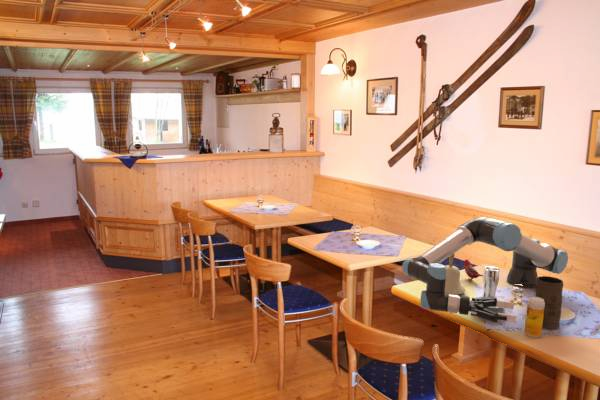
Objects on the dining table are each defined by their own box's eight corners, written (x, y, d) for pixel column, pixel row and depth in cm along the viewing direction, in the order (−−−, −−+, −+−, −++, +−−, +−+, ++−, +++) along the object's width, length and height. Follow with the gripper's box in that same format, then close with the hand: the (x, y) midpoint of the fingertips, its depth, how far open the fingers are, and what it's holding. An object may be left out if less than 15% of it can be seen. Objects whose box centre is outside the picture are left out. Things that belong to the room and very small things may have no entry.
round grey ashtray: (487, 305, 225) (488, 295, 224) (509, 316, 214) (510, 305, 213) (467, 309, 220) (468, 299, 219) (488, 320, 209) (489, 309, 208)
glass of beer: (521, 331, 199) (525, 296, 196) (535, 331, 200) (539, 296, 197) (529, 338, 193) (533, 302, 190) (544, 338, 194) (548, 301, 191)
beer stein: (566, 329, 201) (570, 282, 199) (542, 331, 199) (546, 282, 197) (542, 316, 216) (545, 272, 214) (520, 317, 215) (522, 272, 212)
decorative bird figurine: (464, 275, 265) (466, 257, 263) (485, 287, 248) (487, 268, 247) (460, 276, 264) (461, 258, 263) (480, 287, 248) (482, 268, 246)
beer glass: (498, 302, 229) (501, 271, 226) (482, 301, 230) (485, 270, 227) (495, 297, 236) (498, 266, 233) (480, 295, 237) (482, 265, 234)
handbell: (432, 284, 251) (436, 236, 246) (464, 288, 247) (468, 239, 242) (432, 295, 236) (436, 244, 232) (465, 299, 232) (470, 247, 228)
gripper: (459, 302, 216) (511, 309, 209) (457, 325, 193) (516, 334, 186) (460, 285, 215) (513, 292, 208) (458, 307, 192) (518, 315, 185)
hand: (514, 312), depth 197 cm, fingers open, 13 cm apart
